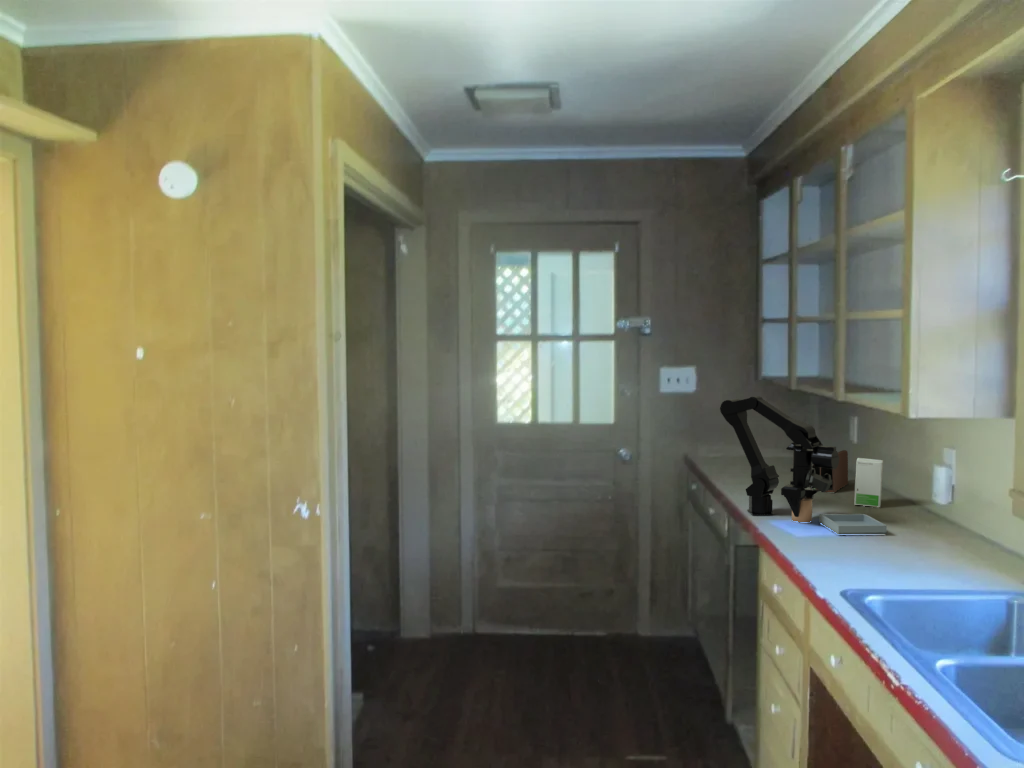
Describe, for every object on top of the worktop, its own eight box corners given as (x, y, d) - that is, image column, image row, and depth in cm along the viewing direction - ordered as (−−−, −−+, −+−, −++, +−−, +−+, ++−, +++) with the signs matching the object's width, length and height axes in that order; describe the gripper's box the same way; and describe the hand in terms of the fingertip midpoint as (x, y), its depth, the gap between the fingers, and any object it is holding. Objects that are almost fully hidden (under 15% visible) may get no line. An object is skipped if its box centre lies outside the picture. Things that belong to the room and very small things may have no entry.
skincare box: (853, 506, 265) (854, 460, 264) (855, 501, 271) (856, 457, 270) (881, 508, 261) (882, 462, 260) (882, 504, 267) (883, 459, 266)
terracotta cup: (795, 523, 243) (796, 500, 242) (788, 518, 249) (789, 496, 248) (814, 523, 243) (815, 500, 242) (807, 518, 249) (808, 496, 248)
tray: (838, 536, 228) (838, 526, 228) (819, 523, 242) (819, 514, 242) (886, 535, 228) (886, 525, 228) (864, 523, 242) (864, 513, 242)
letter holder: (848, 484, 301) (849, 448, 299) (834, 493, 285) (835, 455, 284) (821, 481, 306) (821, 445, 305) (806, 490, 291) (806, 453, 289)
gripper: (817, 472, 232) (816, 524, 234) (839, 463, 246) (838, 512, 247) (780, 468, 240) (779, 518, 241) (804, 460, 254) (803, 507, 255)
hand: (801, 514), depth 246 cm, fingers open, 8 cm apart
